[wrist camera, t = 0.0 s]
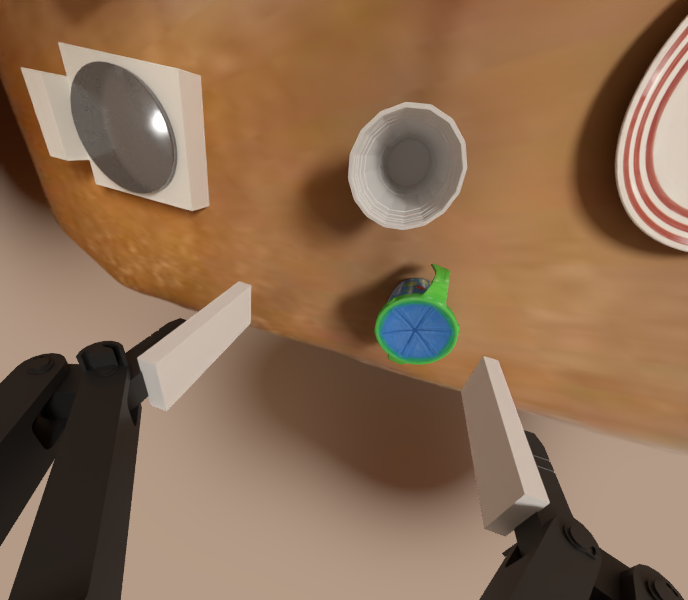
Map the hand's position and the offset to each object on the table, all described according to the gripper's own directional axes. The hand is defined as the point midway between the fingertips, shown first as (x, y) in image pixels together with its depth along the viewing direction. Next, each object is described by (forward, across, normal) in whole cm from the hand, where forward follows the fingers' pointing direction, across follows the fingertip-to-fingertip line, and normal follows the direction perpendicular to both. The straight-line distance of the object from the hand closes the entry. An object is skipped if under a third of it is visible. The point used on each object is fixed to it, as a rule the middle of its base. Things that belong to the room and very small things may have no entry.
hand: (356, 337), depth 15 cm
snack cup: (+28, +7, -11) cm, 31 cm away
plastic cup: (+28, 0, +7) cm, 29 cm away
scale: (+28, -40, +3) cm, 49 cm away
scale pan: (+24, -38, +3) cm, 45 cm away
